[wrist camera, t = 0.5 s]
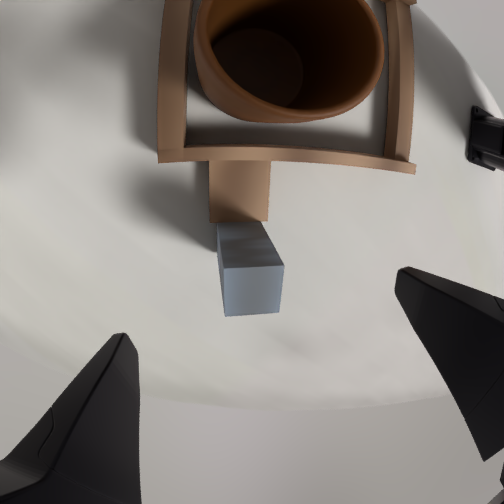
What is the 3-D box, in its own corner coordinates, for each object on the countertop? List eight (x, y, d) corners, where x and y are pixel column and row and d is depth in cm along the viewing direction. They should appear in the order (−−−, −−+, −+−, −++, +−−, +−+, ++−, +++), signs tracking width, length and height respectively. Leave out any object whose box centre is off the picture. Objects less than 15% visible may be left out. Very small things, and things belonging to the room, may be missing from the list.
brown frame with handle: (398, 2, 12) (452, -15, 6) (380, 248, 23) (427, 290, 17) (177, -38, 9) (171, -91, 3) (171, 258, 20) (160, 319, 14)
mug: (268, -27, 11) (311, -96, 3) (352, 26, 14) (434, -7, 6) (176, 90, 15) (147, 60, 7) (273, 142, 18) (333, 163, 9)
